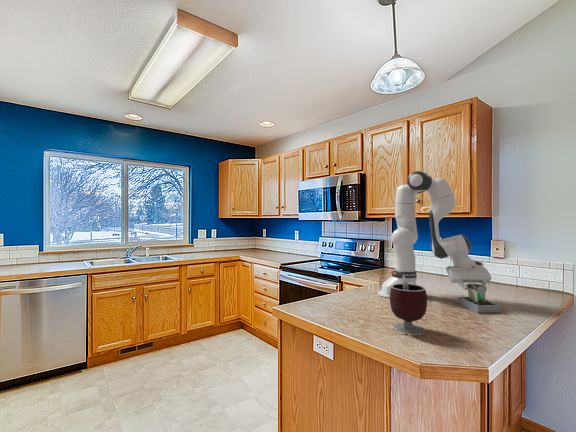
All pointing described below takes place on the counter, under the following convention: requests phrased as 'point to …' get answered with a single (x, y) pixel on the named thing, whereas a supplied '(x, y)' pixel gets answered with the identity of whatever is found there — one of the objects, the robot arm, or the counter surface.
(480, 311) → the tray
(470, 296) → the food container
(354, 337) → the counter surface
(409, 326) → the mate gourd
